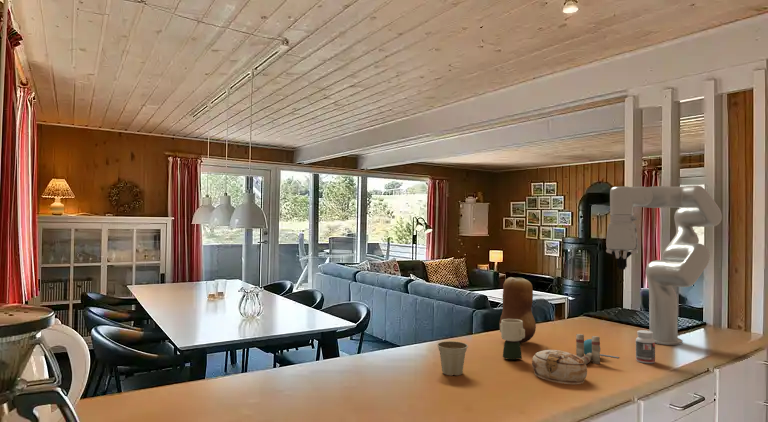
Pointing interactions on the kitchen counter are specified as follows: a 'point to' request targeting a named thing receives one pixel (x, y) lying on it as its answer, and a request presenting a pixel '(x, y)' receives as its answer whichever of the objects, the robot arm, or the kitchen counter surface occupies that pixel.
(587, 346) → the ball
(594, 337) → the pin
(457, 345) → the flower pot
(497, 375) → the kitchen counter surface
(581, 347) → the pin
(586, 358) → the pin front
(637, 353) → the pill bottle
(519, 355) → the character mug
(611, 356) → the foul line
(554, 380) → the trinket box
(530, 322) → the butternut squash
